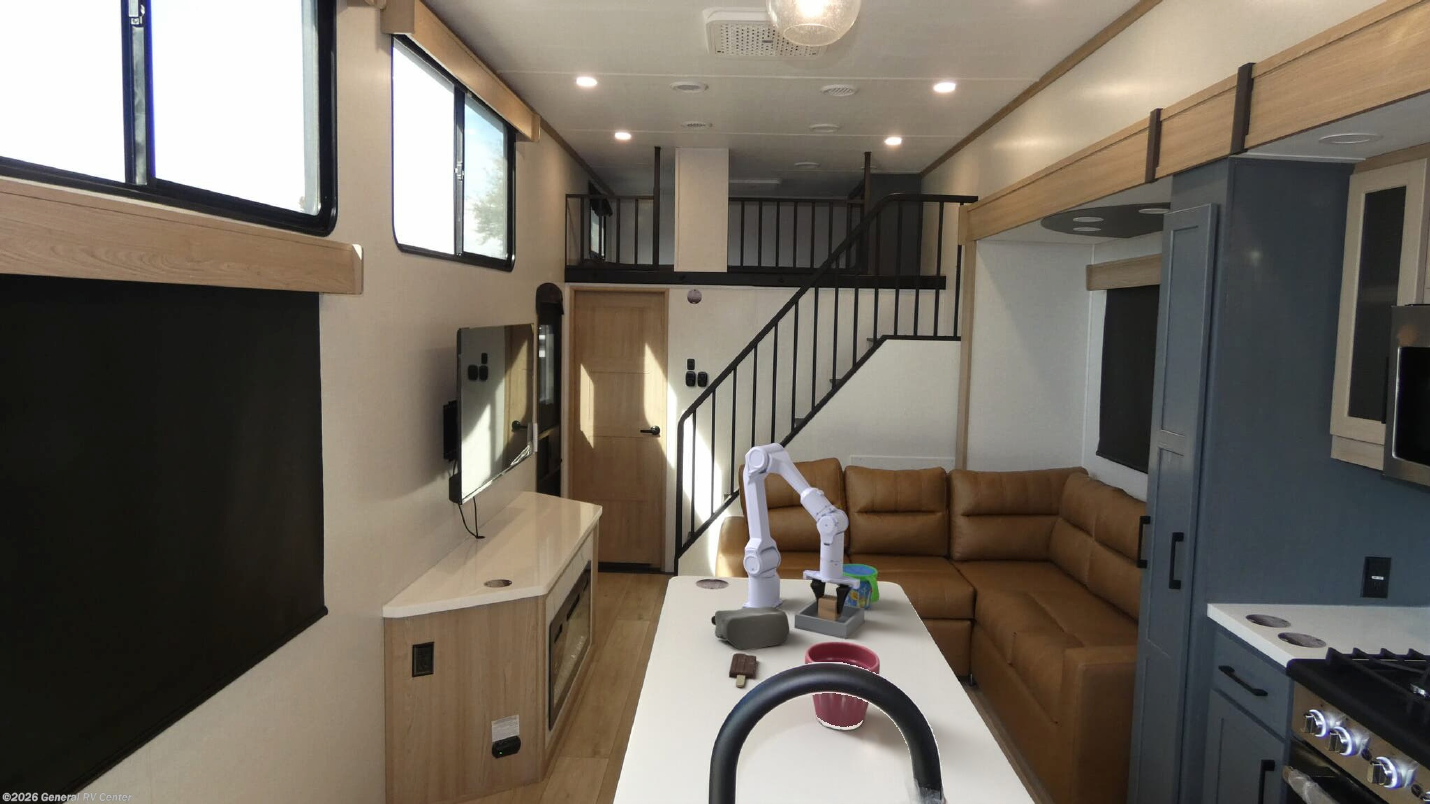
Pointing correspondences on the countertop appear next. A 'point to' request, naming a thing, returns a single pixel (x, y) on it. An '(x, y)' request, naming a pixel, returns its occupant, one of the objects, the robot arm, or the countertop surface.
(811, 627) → the bin
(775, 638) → the grey rounded lump
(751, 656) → the ice cream bar
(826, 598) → the walnut block
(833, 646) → the plant pot
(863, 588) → the snack cup
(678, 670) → the countertop surface
